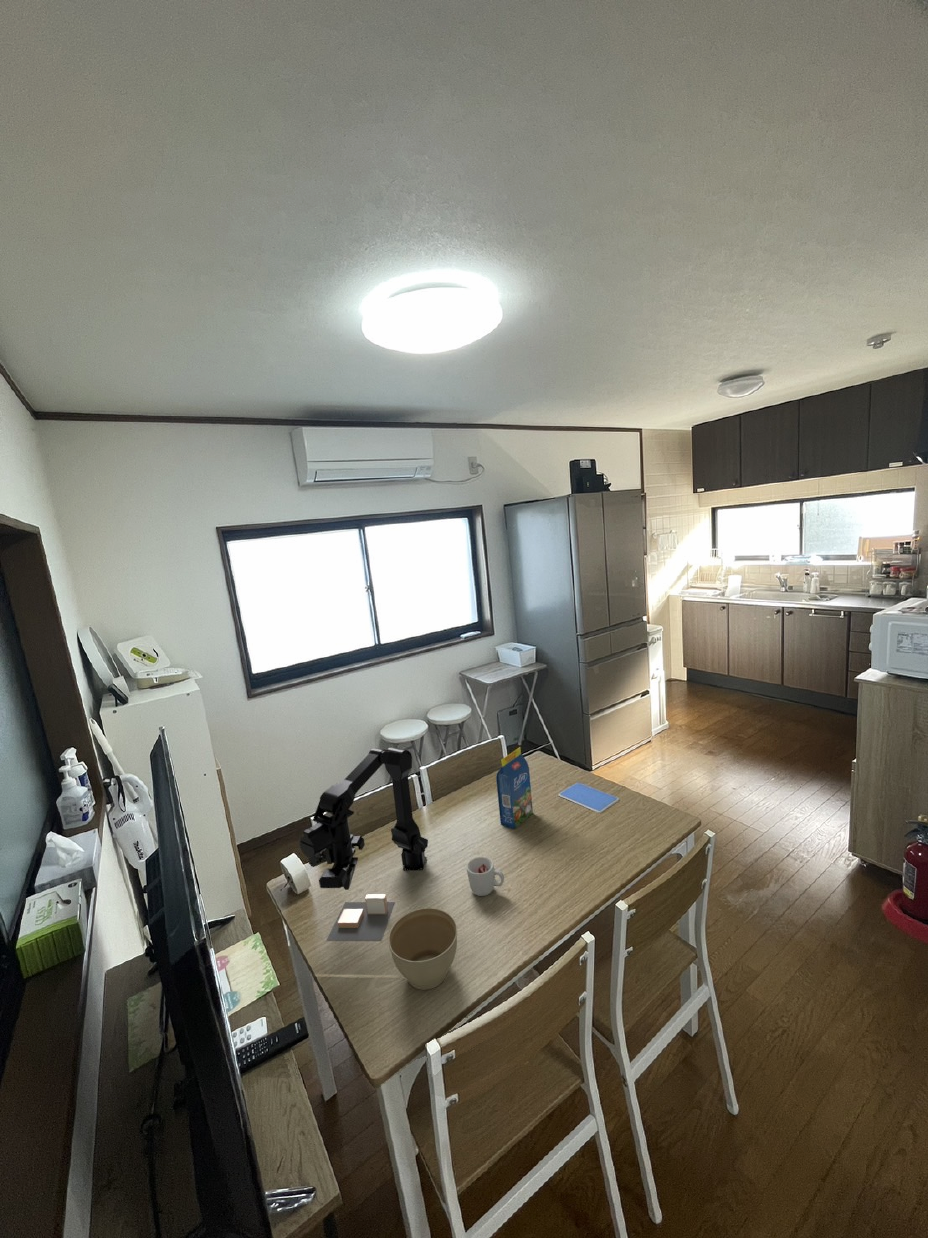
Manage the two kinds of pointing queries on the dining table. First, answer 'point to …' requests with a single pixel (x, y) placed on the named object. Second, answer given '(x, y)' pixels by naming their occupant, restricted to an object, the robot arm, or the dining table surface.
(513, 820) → the blue food package
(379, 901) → the tile
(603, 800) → the tablet computer
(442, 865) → the dining table surface
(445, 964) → the planter bowl
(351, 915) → the tile
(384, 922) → the mat
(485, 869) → the cup
